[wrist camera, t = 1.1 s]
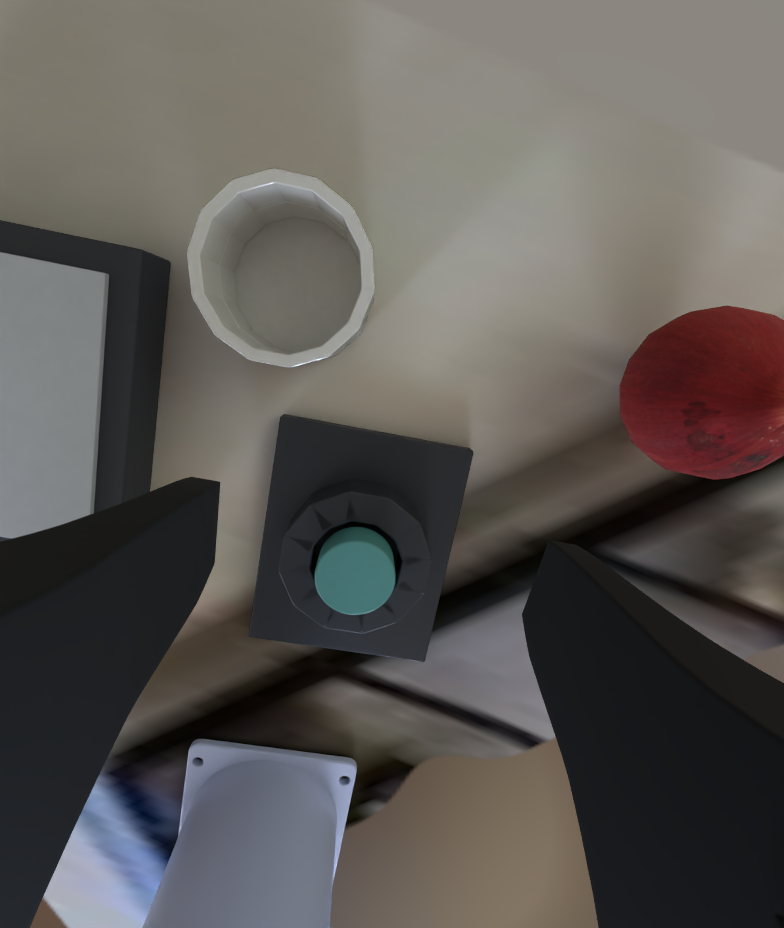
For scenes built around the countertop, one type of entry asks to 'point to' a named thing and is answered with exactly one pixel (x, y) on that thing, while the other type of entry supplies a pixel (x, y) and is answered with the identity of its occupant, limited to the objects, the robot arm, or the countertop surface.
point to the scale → (76, 375)
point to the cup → (281, 268)
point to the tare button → (355, 571)
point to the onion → (708, 393)
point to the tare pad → (357, 505)
